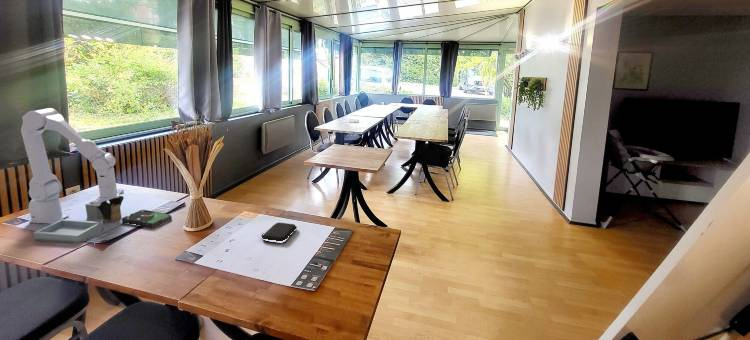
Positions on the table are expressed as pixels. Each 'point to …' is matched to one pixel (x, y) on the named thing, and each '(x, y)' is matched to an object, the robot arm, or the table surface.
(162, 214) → the disk drive
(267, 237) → the carrying case or bag
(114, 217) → the walnut block
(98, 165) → the robot arm
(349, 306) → the table surface
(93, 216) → the grey button block
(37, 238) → the tray
